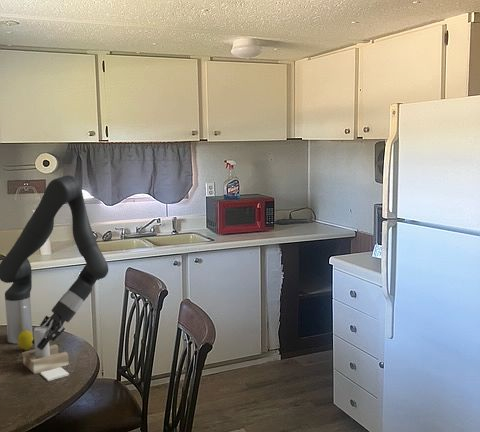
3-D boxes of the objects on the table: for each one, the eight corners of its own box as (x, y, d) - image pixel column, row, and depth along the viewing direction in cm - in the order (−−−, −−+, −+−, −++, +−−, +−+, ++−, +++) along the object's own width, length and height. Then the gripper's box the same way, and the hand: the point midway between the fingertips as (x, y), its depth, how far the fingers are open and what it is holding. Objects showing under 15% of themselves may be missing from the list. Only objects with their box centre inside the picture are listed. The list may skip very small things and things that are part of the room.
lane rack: (22, 363, 193) (22, 352, 192) (56, 354, 200) (55, 344, 200) (34, 373, 184) (33, 362, 183) (68, 364, 191) (68, 353, 191)
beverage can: (45, 364, 188) (43, 331, 187) (33, 363, 189) (30, 330, 188) (52, 358, 193) (50, 326, 192) (40, 357, 194) (38, 325, 192)
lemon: (15, 352, 203) (13, 331, 202) (26, 346, 208) (24, 326, 207) (26, 354, 201) (25, 333, 200) (37, 348, 206) (36, 328, 205)
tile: (40, 374, 183) (40, 372, 183) (60, 368, 188) (60, 367, 188) (48, 381, 178) (48, 379, 178) (68, 375, 183) (68, 373, 182)
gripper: (52, 296, 199) (21, 335, 193) (68, 304, 188) (35, 346, 182) (67, 307, 203) (37, 345, 197) (83, 316, 192) (52, 357, 186)
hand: (36, 346), depth 189 cm, fingers closed on beverage can, 4 cm apart
